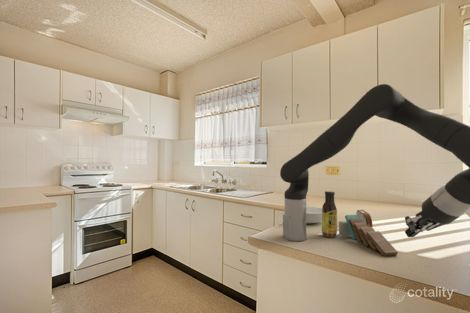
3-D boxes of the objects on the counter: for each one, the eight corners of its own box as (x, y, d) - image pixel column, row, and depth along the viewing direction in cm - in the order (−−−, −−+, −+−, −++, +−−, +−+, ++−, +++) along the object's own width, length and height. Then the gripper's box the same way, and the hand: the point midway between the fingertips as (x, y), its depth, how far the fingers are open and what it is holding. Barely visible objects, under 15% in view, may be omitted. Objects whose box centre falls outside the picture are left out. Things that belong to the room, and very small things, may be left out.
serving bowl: (331, 227, 114) (331, 214, 114) (288, 226, 117) (288, 212, 117) (322, 217, 135) (321, 205, 135) (286, 216, 138) (285, 204, 138)
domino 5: (398, 252, 80) (378, 231, 89) (385, 252, 79) (367, 231, 88) (396, 255, 81) (377, 234, 90) (383, 256, 80) (365, 234, 89)
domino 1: (365, 237, 96) (356, 214, 102) (354, 238, 96) (346, 215, 101) (363, 238, 98) (355, 215, 103) (352, 239, 97) (344, 216, 103)
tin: (373, 233, 106) (373, 214, 106) (365, 232, 106) (365, 214, 106) (362, 224, 120) (361, 208, 121) (355, 223, 121) (355, 208, 121)
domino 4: (388, 247, 84) (371, 226, 93) (376, 248, 84) (360, 227, 92) (386, 250, 85) (370, 229, 94) (374, 251, 84) (359, 230, 93)
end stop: (361, 235, 102) (361, 222, 102) (342, 236, 101) (342, 222, 101) (357, 233, 105) (357, 220, 105) (339, 234, 104) (338, 221, 104)
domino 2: (372, 240, 93) (360, 218, 99) (360, 241, 92) (350, 218, 99) (370, 242, 94) (358, 220, 101) (358, 242, 93) (348, 220, 100)
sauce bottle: (330, 239, 97) (329, 192, 98) (318, 235, 103) (318, 191, 103) (340, 236, 100) (340, 191, 101) (328, 232, 106) (328, 190, 106)
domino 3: (379, 243, 88) (365, 222, 96) (368, 244, 88) (354, 223, 96) (378, 246, 89) (363, 224, 97) (366, 246, 89) (353, 225, 97)
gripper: (458, 191, 65) (419, 223, 76) (416, 192, 63) (383, 224, 75) (480, 215, 59) (434, 244, 71) (435, 216, 58) (396, 246, 70)
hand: (408, 234), depth 73 cm, fingers closed
